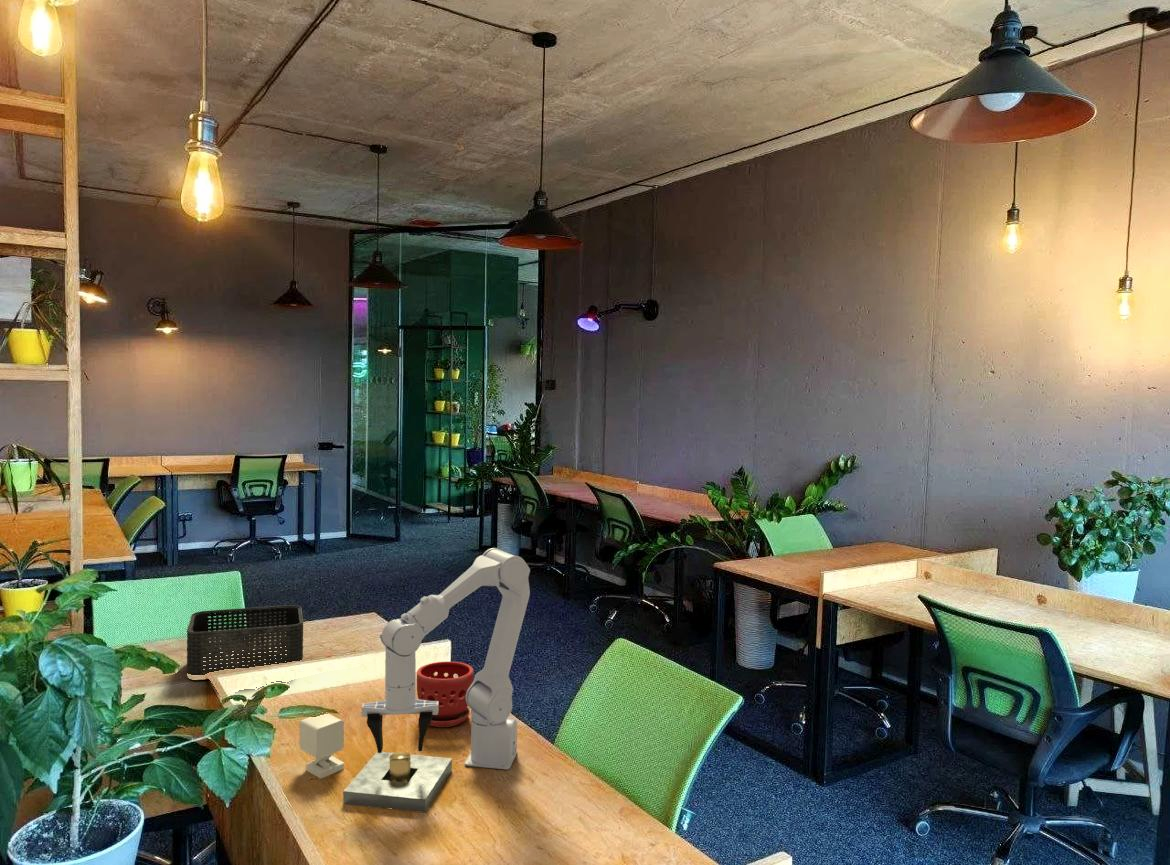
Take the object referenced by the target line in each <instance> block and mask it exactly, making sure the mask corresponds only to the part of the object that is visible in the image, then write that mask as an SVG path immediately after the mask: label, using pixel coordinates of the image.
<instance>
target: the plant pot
mask: <svg viewBox="0 0 1170 865" xmlns="http://www.w3.org/2000/svg"><path fill="white" fill-rule="evenodd" d="M416 671H417V672H416V694H417V699H418V700H426V701H439V711H438V715H433V716H432V721H431V723H430V725H429V726H431V727H437V728H444V727H447V728H449V727H453V726H457V725H461V723H464V722H465V721H466V720H467V719H468V717H469V716H470V714H471V709H470V707H469V706H468V705H467V703H466V693H467V690H468V688H469V687H470V686H471V684H472V683H473V681H474V678H475V675H474V668H473V667H472V666H471V665H470V664H466V663H464V662H459V661H438V662H437V661H436V662H432V663H428V664H427V663H426V664H424V665H422V666H421V667H419V668H418V669H417V670H416ZM435 673H437V674H436V675H435ZM445 674H447V676H445ZM454 675H457V677H454ZM418 715H419V716H420V714H418Z"/></svg>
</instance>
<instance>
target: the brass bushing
mask: <svg viewBox="0 0 1170 865" xmlns="http://www.w3.org/2000/svg"><path fill="white" fill-rule="evenodd" d="M393 753H394V754H392V755H391V756H390V781H398V782H409V781H410V780H411V755H412V754H410V753H409V752H406V751H396V752H393Z"/></svg>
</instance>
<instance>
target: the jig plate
mask: <svg viewBox="0 0 1170 865" xmlns="http://www.w3.org/2000/svg"><path fill="white" fill-rule="evenodd" d="M394 753H395V752H388V751H382V753H378V750H377V751H376V752H375V754H374V755H372V757H371V758H370V759H369V761H367V763H366V764H365V765H364V766H363V767H362V768H361V770H360V771H359V772H358V773H357V774H356V776H355V777H354V778H353V779H352V780H351V782H350V783H349V784H348V785H347V786H346V788H344V789H343V791H342V793H343V794H342V796H343V798H342V799H343V800H342V804H343V805H349V806H361V807H368V806H369V807H370V806H371V807H370V808H377V807H381V808H380V809H387V808H392V809H391V810H396V809H399V810H398V811H405V810H409V811H408V812H415V811H419V812H418V813H424V812H425V813H426V812H427V811H426V810H428V809H429V807H430V806H431V804H432V803H433V801H434V799H435V798H436V796H437V795H438V793H439V792H440V789H441V788H442V787H443V785H444V784H445V783H446V781H447V779H448V777H449V775H450V774H451V772H452V770H453V768H452V767H453V763H452V762H453V758H451V757H450V758H449V757H441V756H432V755H431V756H430V755H420V754H410V755H411V780H410V781H409V782H398V781H390V756H391V755H392V754H394ZM429 805H430V806H429ZM420 811H421V812H420Z"/></svg>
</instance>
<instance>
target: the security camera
mask: <svg viewBox="0 0 1170 865" xmlns="http://www.w3.org/2000/svg"><path fill="white" fill-rule="evenodd" d="M344 725H345V724H344V721H343V720H342V719H340V718H337V716H334V715H332V714H330V713H328V714H324V715H320V716H317V717H311V716H309V717H306V718H304V719H301V721H300V722H299V749H300V750H301V751H303V752H305V753H307V754H308V755H310V756H312V757H314V758H315V759H314V760H311V761H309V762H306V763H305V770H306V771H307V772H309V773H310V774H312V775H313V776H315V777H317V778H318V779H324V778H327V777H329V776H331V775H333V774H335V773H338V772H341V771H343V770H344V769H345V768H344V767H345V762H343V761H342V760H340V759H339V758H336V757H335V756H333V755H334V754H335V753H338V752H340V751H342V750H343V749H344V744H345V742H344V741H345V740H344V739H345V738H344V736H345V735H344V733H345V732H344V731H345V729H344V727H345V726H344Z"/></svg>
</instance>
